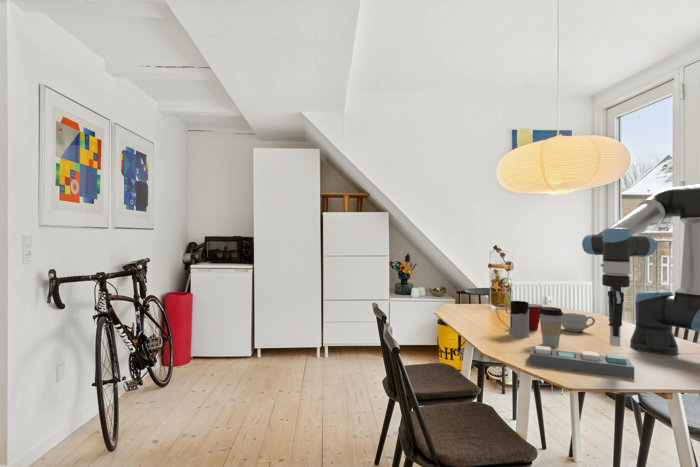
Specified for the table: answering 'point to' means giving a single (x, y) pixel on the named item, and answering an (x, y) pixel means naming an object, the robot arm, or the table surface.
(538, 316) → the plastic cup
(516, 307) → the grey and black mug
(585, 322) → the teacup
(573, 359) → the keyboard
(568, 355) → the teal key
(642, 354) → the table surface
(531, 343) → the table surface
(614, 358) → the teal key
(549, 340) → the coffee cup
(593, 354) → the white key
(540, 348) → the white key
